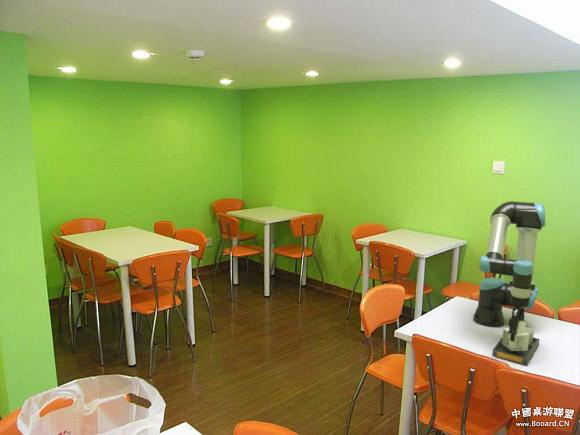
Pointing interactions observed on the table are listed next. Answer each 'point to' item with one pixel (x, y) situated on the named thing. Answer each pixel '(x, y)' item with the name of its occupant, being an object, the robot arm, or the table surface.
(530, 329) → the filler block
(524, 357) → the rack tray
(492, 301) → the robot arm
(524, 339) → the container
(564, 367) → the table surface
